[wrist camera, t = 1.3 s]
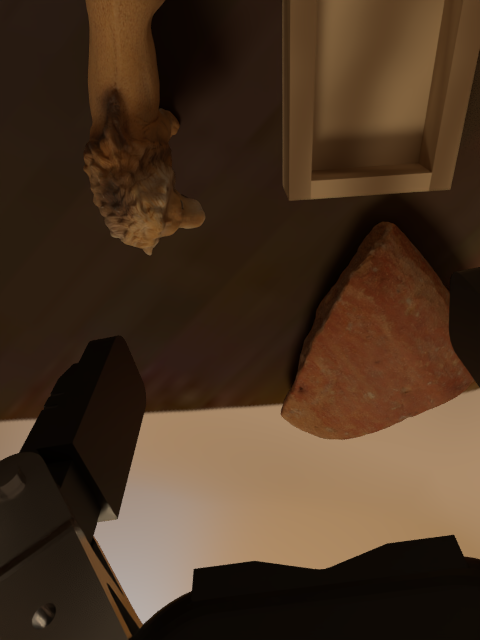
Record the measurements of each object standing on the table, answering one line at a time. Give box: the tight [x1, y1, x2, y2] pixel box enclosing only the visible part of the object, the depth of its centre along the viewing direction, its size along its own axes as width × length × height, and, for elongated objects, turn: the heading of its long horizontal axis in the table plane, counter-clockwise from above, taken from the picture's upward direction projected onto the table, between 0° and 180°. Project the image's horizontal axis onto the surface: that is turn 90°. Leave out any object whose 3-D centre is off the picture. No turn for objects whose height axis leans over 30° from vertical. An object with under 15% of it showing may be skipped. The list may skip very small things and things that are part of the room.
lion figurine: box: [84, 0, 205, 255], centre depth 19 cm, size 15×5×9 cm, turn 4°
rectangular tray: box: [282, 0, 480, 201], centre depth 21 cm, size 9×17×3 cm, turn 3°
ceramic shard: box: [281, 221, 475, 440], centre depth 33 cm, size 15×6×15 cm
